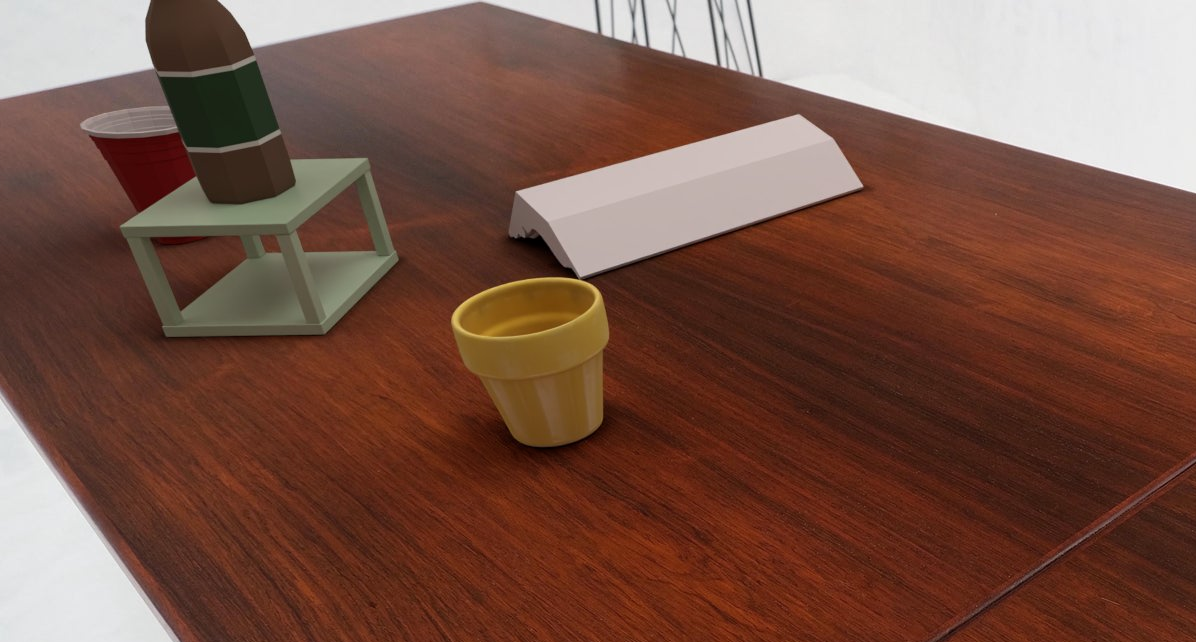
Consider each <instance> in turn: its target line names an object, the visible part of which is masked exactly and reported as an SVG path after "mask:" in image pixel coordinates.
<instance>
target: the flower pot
mask: <svg viewBox="0 0 1196 642" xmlns="http://www.w3.org/2000/svg"><path fill="white" fill-rule="evenodd" d="M450 319H451V321H450V323H451V329H452V333H453V335H454V339H455V342H456V346H457V348H458V352H459V355H460V356H461V359H462V362H463V364H464V366H465V368H466V369H467V370H469V372H471V373H472V374H475V375H476V376H478V377H479V379H480V381H481V383H482V385H483V386H484V388H485V389H486V391H487V393H488V395H489V396H490V398H491V400H492V401H493V403H494V405H495V407H496V409H497V411H498V413H499V414H500V416H501V418H502V420H503V421H504V423H505V425H506V427H507V428H508V429H507V430H509V433H510V434H511V435H512V437H513V438H514V439H515V440H516V441H517V442H519V443H520V444H523V445H526V446H529V447H534V448H535V447H536V448H551V447H560V446H564V445H568V444H572V443H575V442H578V441H581V440H583V439H585V438H587V437H589V436H590V435H592V434H594V433H595V431H597V430H598V429H599V427H600V426H601V425H602V423H603V419H604V379H603V378H604V368H603V367H604V349H605V348H606V347H607V345H608V343H609V339H610V328H609V321H608V316H607V311H606V306H605V303H604V299H603V296H602V294H601V291H599V289H598V288H597V287H596V286H594V285H593V284H592V283H590V282H587V281H585V280H582V279H581V280H579V279H577V278H571V277H570V278H569V277H536V278H535V277H534V278H528V279H521V280H516V281H511V282H508V283H504V284H501V285H497V286H494V287H491V288H488V289H486V290H484V291H481V292H479V293H477V294H475V295H473V296H471V297H470V298H468V299H466V300H465V301H463V303H461V304H459V306H458V307H457V308H455V310H454V312H453V313H452V315H451V318H450Z"/></svg>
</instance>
